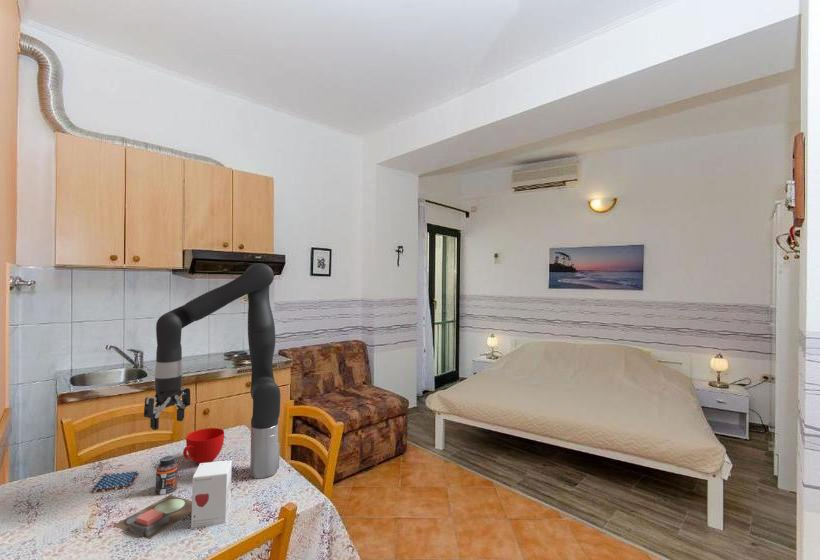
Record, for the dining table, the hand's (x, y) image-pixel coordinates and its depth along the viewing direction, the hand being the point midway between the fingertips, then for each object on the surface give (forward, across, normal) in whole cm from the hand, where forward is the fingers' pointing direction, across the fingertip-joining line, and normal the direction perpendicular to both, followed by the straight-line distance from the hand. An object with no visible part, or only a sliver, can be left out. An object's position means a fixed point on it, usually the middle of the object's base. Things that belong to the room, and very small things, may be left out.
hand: (167, 424), depth 126 cm
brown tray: (+22, -10, -11) cm, 27 cm away
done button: (+20, -15, -14) cm, 28 cm away
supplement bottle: (+22, 0, 0) cm, 22 cm away
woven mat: (+23, -2, +21) cm, 31 cm away
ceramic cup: (+22, +20, +8) cm, 31 cm away
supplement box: (+22, -5, -25) cm, 34 cm away
